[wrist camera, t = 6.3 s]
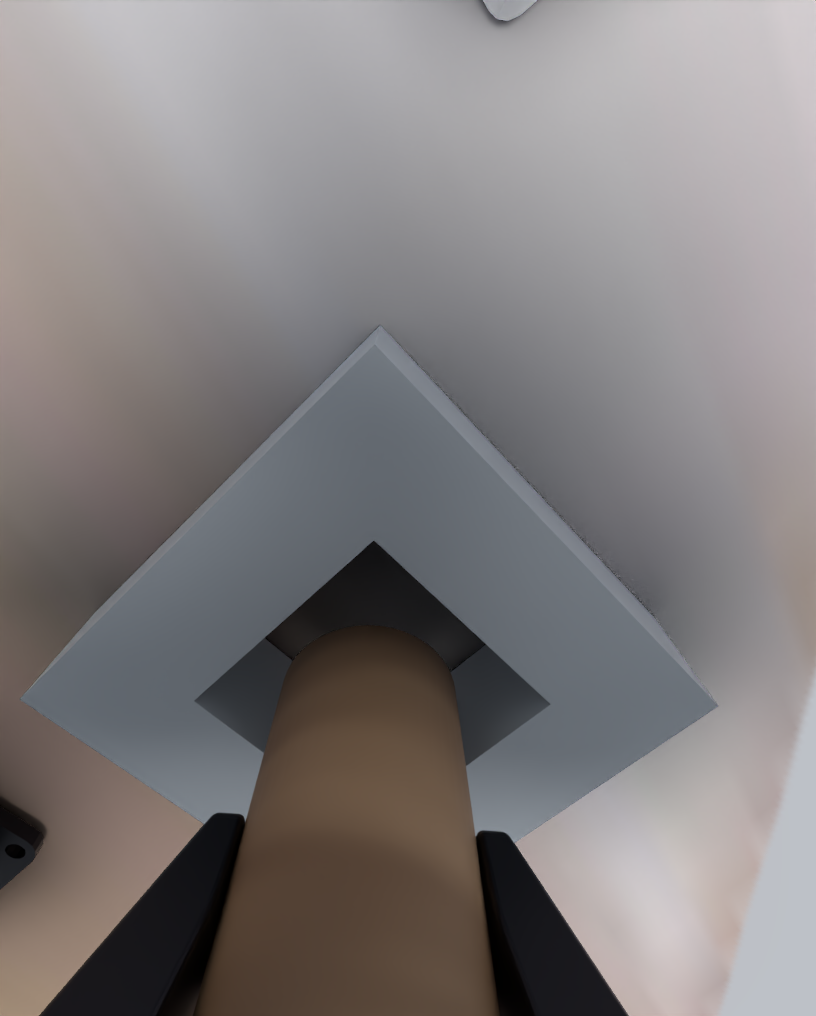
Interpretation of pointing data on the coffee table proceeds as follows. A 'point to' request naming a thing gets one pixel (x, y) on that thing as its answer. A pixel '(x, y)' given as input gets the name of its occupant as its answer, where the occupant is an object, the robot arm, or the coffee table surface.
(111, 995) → the robot arm
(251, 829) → the long dowel
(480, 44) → the coffee table surface
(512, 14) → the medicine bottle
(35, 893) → the coffee table surface
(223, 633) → the collar block
